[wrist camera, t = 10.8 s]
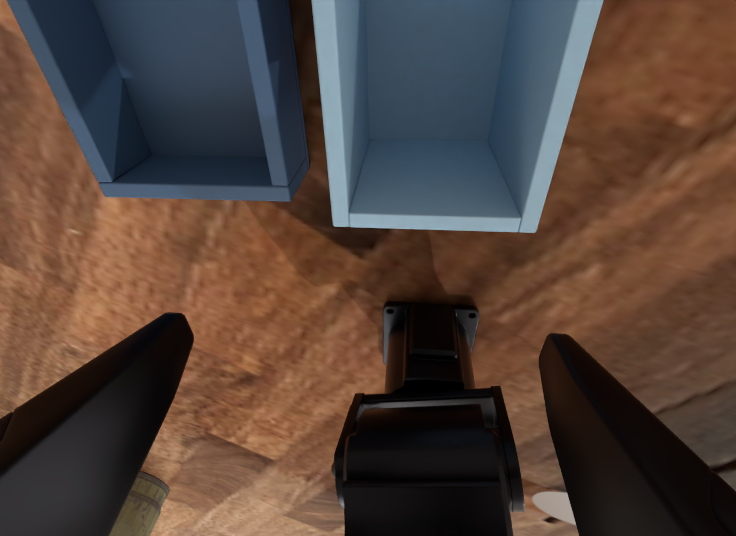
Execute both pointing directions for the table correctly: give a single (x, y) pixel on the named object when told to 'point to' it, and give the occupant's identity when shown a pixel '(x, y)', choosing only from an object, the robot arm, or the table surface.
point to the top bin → (447, 107)
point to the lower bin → (176, 93)
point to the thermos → (141, 507)
